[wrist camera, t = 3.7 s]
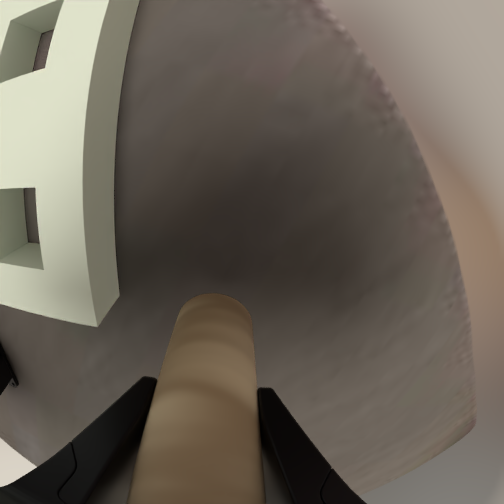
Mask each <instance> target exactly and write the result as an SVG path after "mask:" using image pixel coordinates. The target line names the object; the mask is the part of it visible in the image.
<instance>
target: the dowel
mask: <svg viewBox="0 0 504 504" xmlns="http://www.w3.org/2000/svg"><path fill="white" fill-rule="evenodd" d="M126 504H266V494H265V482H264V469H263V457H262V444H261V432H260V420H259V408H258V394H257V380H256V367H255V353H254V340H253V326H252V319H251V316H250V314H249V312H248V311H247V309H246V308H245V307H244V306H243V305H242V304H241V303H240V302H239V301H237V300H236V299H234V298H232V297H229V296H227V295H223V294H217V293H208V294H202V295H198V296H196V297H194V298H192V299H190V300H189V301H187V302H186V303H185V304H184V305H183V307H182V308H181V310H180V312H179V314H178V317H177V320H176V323H175V326H174V329H173V332H172V336H171V339H170V342H169V345H168V348H167V351H166V355H165V358H164V361H163V364H162V368H161V371H160V374H159V378H158V381H157V384H156V388H155V391H154V395H153V398H152V402H151V405H150V409H149V412H148V416H147V420H146V423H145V427H144V431H143V435H142V439H141V442H140V446H139V450H138V454H137V458H136V462H135V467H134V471H133V475H132V479H131V484H130V488H129V493H128V497H127V502H126Z"/></svg>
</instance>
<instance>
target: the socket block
mask: <svg viewBox="0 0 504 504" xmlns="http://www.w3.org/2000/svg"><path fill="white" fill-rule="evenodd" d="M139 1H140V0H0V304H3V305H6V306H10V307H13V308H17V309H20V310H24V311H28V312H31V313H35V314H39V315H43V316H47V317H51V318H56V319H60V320H64V321H69V322H74V323H78V324H83V325H88V326H93V327H98V326H99V324H100V323H101V322H102V320H103V319H104V317H105V316H106V314H107V313H108V311H109V310H110V309H111V307H112V306H113V304H114V303H115V301H116V300H117V299H118V297H119V296H120V293H119V284H118V274H117V262H116V247H115V226H114V167H115V146H116V132H117V121H118V111H119V102H120V94H121V87H122V80H123V74H124V68H125V62H126V56H127V51H128V46H129V41H130V37H131V32H132V28H133V24H134V20H135V16H136V12H137V8H138V5H139ZM53 29H54V33H53V37H52V40H51V44H50V48H49V52H48V57H47V61H46V66H45V68H44V69H41V70H37V71H34V72H32V71H33V66H34V61H35V57H36V53H37V49H38V45H39V41H40V37H41V34H42V33H44V32H47V31H50V30H53ZM32 187H36V208H37V220H38V231H39V239H40V244H38V243H29V242H28V237H27V229H26V219H25V207H24V188H32Z"/></svg>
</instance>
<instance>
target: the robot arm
mask: <svg viewBox="0 0 504 504" xmlns="http://www.w3.org/2000/svg"><path fill="white" fill-rule="evenodd" d="M8 384H9V385H11V386H13V387H17V386H18V382H17V380H16V378H15V376H14V374H13V372H12V370H11V368H10V366H9V364H8V361H7V359H6V357H5V355H4V352H3V350H2V348H1V345H0V395H1V394H2V392H3V391H4V389H5V388H6V386H7V385H8ZM156 384H157V379H156V378H153V377H147V376H144V377H142V378H141V379H140V380H139V381H137V382H136V383H135V384H134V385H133V386H132V387H131V388H130V389H129V390H128V391H126V392H125V393H124V394H123V395H122V396H121V397H120V398H119V399H118V400H117V401H115V402H114V403H113V404H112V405H111V406H110V407H109V408H108V409H107V410H105V411H104V412H103V413H102V414H101V415H100V416H99V417H98V418H97V419H95V420H94V421H93V422H92V423H91V424H90V425H89V426H88V427H86V428H85V429H84V430H83V431H82V432H81V433H80V434H79V435H77V436H76V437H75V438H74V439H73V440H72V442H69V443H68V444H67V445H66V446H65V447H64V448H62V449H61V450H60V451H59V452H58V453H56V454H55V455H54V456H53V457H51V458H50V459H49V460H47V461H46V462H44V463H43V464H41V465H40V466H38V467H37V468H35V469H34V470H32V471H31V472H29V473H28V474H26V475H24V476H22V477H21V478H19V479H18V480H16V481H14V482H13V483H11V484H8V485H6V486H3V487H0V504H126V502H127V497H128V493H129V488H130V484H131V479H132V475H133V471H134V467H135V462H136V458H137V454H138V450H139V446H140V442H141V439H142V435H143V431H144V427H145V423H146V420H147V416H148V412H149V409H150V405H151V402H152V398H153V395H154V391H155V388H156ZM257 394H258V408H259V420H260V432H261V444H262V457H263V469H264V482H265V494H266V504H367V503H365V502H364V501H363V500H362V499H361V498H360V497H359V496H358V495H357V494H356V493H355V492H353V491H352V490H351V489H350V488H349V486H348V485H347V484H346V483H345V482H344V481H343V480H342V479H341V478H340V476H339V475H338V474H337V473H336V471H335V470H334V469H331V468H332V467H331V465H330V464H329V463H328V462H327V460H326V459H325V458H324V457H323V455H322V454H321V453H320V452H319V450H318V449H317V448H316V447H315V445H314V444H313V443H312V441H311V440H310V439H309V437H308V436H307V435H306V434H305V432H304V431H303V430H302V428H301V427H300V426H299V424H298V423H297V422H296V420H295V419H294V418H293V416H292V415H291V414H290V412H289V411H288V409H287V408H286V407H285V405H284V404H283V403H282V401H281V400H280V398H279V397H278V396H277V394H276V393H275V391H274V390H273V389H272V388H263V387H260V388H258V390H257Z"/></svg>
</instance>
